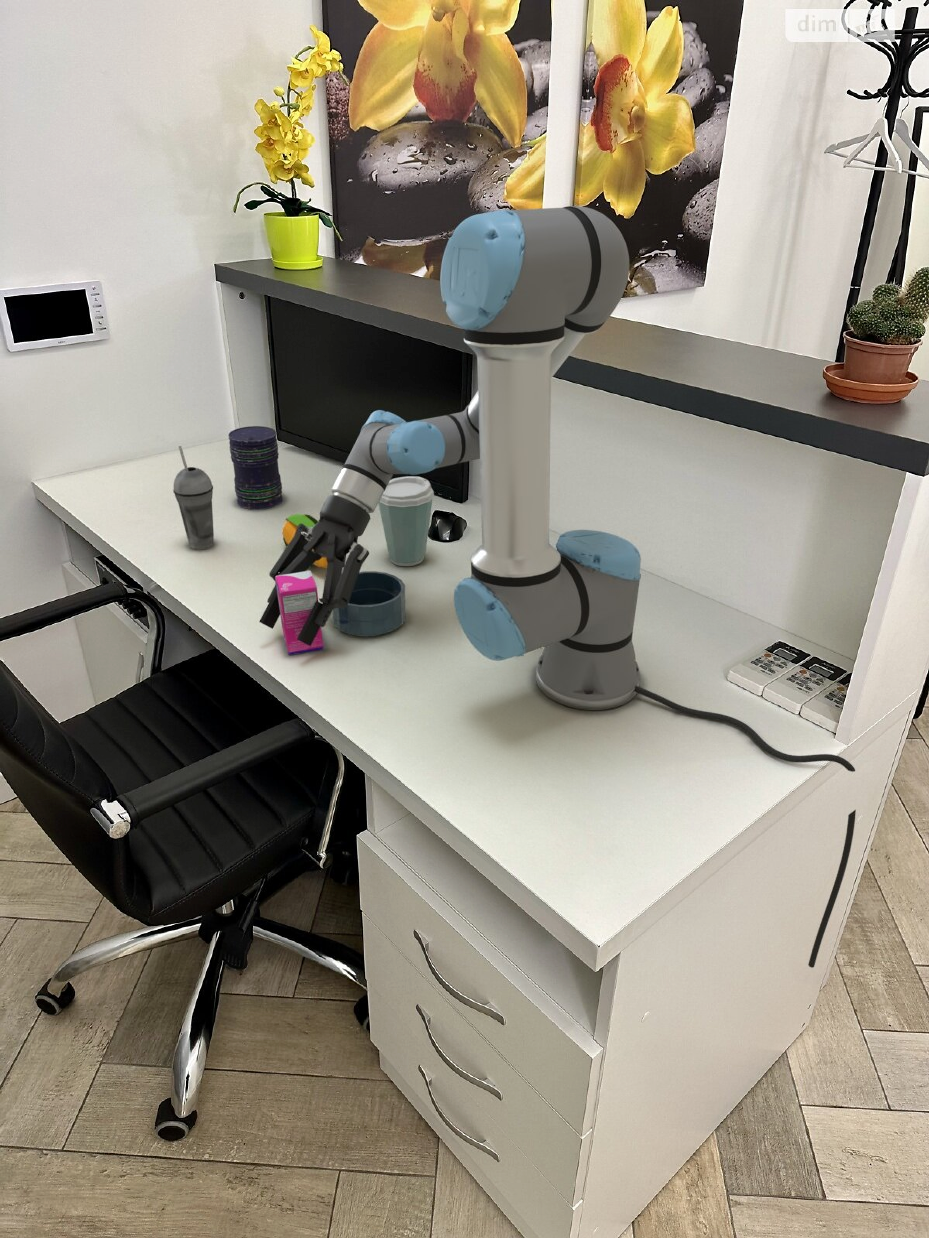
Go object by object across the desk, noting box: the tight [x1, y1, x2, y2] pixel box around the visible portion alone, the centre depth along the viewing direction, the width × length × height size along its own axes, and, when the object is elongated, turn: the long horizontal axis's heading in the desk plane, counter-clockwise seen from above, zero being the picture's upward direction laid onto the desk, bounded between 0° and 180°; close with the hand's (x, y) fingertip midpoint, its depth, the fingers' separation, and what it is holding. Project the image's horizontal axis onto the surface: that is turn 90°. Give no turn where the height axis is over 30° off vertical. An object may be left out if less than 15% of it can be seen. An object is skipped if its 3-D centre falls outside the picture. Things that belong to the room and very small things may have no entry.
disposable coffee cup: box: [377, 475, 435, 567], centre depth 164 cm, size 11×11×15 cm
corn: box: [281, 513, 327, 569], centre depth 165 cm, size 7×8×20 cm
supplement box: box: [275, 570, 325, 656], centre depth 139 cm, size 6×6×12 cm
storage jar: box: [228, 425, 284, 511], centre depth 188 cm, size 10×10×15 cm
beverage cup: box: [172, 445, 215, 551], centre depth 167 cm, size 7×7×20 cm
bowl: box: [330, 570, 407, 637], centre depth 146 cm, size 12×12×6 cm
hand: (284, 633), depth 137 cm, fingers closed on supplement box, 8 cm apart
